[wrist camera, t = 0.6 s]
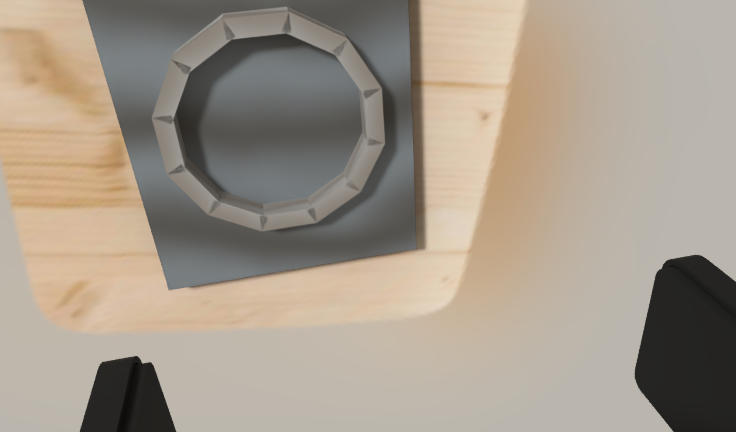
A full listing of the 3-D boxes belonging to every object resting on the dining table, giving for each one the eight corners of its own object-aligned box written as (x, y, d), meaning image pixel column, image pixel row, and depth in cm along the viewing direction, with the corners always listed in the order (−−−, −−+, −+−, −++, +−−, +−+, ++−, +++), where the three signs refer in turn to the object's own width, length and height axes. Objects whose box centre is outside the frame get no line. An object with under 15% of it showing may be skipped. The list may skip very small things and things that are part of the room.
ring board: (71, -65, 28) (54, -61, 25) (397, -93, 30) (413, -92, 27) (171, 276, 38) (166, 304, 35) (410, 237, 40) (422, 260, 37)
